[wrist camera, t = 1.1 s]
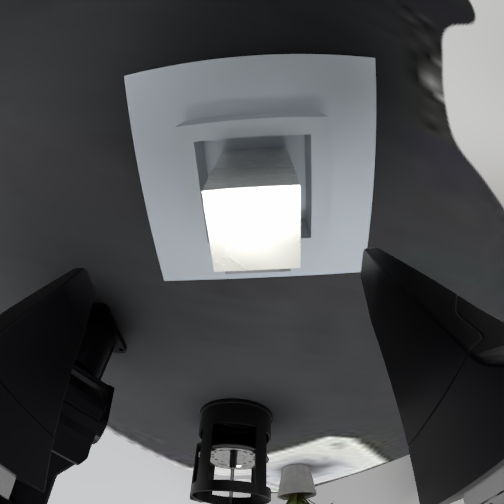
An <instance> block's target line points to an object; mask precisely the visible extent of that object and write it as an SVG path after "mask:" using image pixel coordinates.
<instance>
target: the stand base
mask: <svg viewBox="0 0 504 504" xmlns="http://www.w3.org/2000/svg"><path fill="white" fill-rule="evenodd" d="M124 80H125V88H126V96H127V103H128V111H129V117H130V124H131V130H132V136H133V142H134V148H135V154H136V159H137V165H138V170H139V175H140V180H141V185H142V190H143V195H144V200H145V204H146V209H147V213H148V218H149V222H150V227H151V231H152V235H153V239H154V243H155V247H156V251H157V255H158V259H159V263H160V267H161V270H162V274H163V278H164V281H180V280H211V279H238V278H261V277H283V276H302V275H321V274H338V273H354V272H361V267H362V257H363V251H364V249H366V248H367V245H368V237H369V228H370V218H371V208H372V197H373V184H374V168H375V147H376V66H375V58H371V57H360V56H347V55H328V54H273V55H254V56H240V57H229V58H220V59H212V60H204V61H197V62H190V63H184V64H178V65H172V66H167V67H162V68H157V69H152V70H147V71H143V72H138V73H134V74H130V75H126V76H124ZM272 147H287V150H288V153H289V155H290V158H291V161H292V163H293V166H294V169H295V171H296V174H297V177H298V180H299V182H300V196H301V263H300V268H291V271H285V272H264V273H241V274H225V271H224V272H214V268H213V262H212V256H211V250H210V243H209V237H208V231H207V224H206V218H205V211H204V204H203V197H202V189H203V187H204V185H205V183H206V181H207V179H208V177H209V175H210V173H211V172H212V170H213V168H214V166H215V164H216V162H217V160H218V158H219V157H220V155H221V153H222V151H226V150H239V149H254V148H272Z"/></svg>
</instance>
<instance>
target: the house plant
mask: <svg viewBox="0 0 504 504" xmlns="http://www.w3.org/2000/svg"><path fill="white" fill-rule="evenodd" d="M315 495H316V490H315V486H314V482H313V478H312V475H311V471H310V467H309V465H306V464H292V465H288V466H285V467H283V469H282V475H281V480H280V486H279V491H278V496H277V497H278V498H279V499H283V500H288V502H287V503H286V504H309V503H308V501H307V500H306V499H307V498H310V497H314V496H315ZM304 500H305V501H306V502H307V503H306V502H305V501H304ZM309 501H310V500H309ZM331 504H332V503H331Z"/></svg>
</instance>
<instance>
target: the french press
mask: <svg viewBox="0 0 504 504" xmlns="http://www.w3.org/2000/svg"><path fill="white" fill-rule="evenodd" d="M200 418H201V422H200V429H199V436H200V438H201V439H202V442H200V443H198V444H197V448H196V456H195V463H194V470H193V478H192V485H191V493H190V499H191V500H194V501H198V502H207V503H211V504H267V503H269V502H270V501H271V489H270V488H268V487H266V463H267V462H268V461H269V458H268V457H267V454H266V445H267V444H268V443H269V442H270V440H271V423H272V414H271V412H270V411H269V410H268V409H267V408H266V407H265V406H263V405H261V404H258V403H255V402H252V401H248V400H241V399H221V400H216V401H212V402H209V403H208V404H206V405H204V406H203V407H202V409H201V411H200ZM224 423H234V424H244V425H249V426H253V428H250V429H241V430H240V429H229V428H225V427H222V426H219V425H217V424H224ZM215 466H216V467H221V468H227V469H231V478H230V480H213V479H214V469H215ZM234 469H252V477H251V483H250V482H243V481H233V480H234ZM212 491H230V492H229V497H223V496H217V495H212ZM233 492H242V493H250V494H251V497H247V498H235V497H232V496H233Z"/></svg>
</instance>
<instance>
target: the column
mask: <svg viewBox="0 0 504 504" xmlns="http://www.w3.org/2000/svg"><path fill="white" fill-rule="evenodd" d="M202 197H203V204H204V211H205V218H206V224H207V231H208V237H209V243H210V250H211V256H212V262H213V268H214V272H224V271H225V274H241V273H264V272H285V271H291V268H300V263H301V196H300V182H299V180H298V177H297V174H296V171H295V169H294V166H293V163H292V161H291V158H290V155H289V153H288V150H287V147H272V148H254V149H239V150H226V151H222V153H221V155H220V157H219V158H218V160H217V162H216V164H215V166H214V168H213V170H212V172H211V173H210V175H209V177H208V179H207V181H206V183H205V185H204V187H203V189H202Z"/></svg>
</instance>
